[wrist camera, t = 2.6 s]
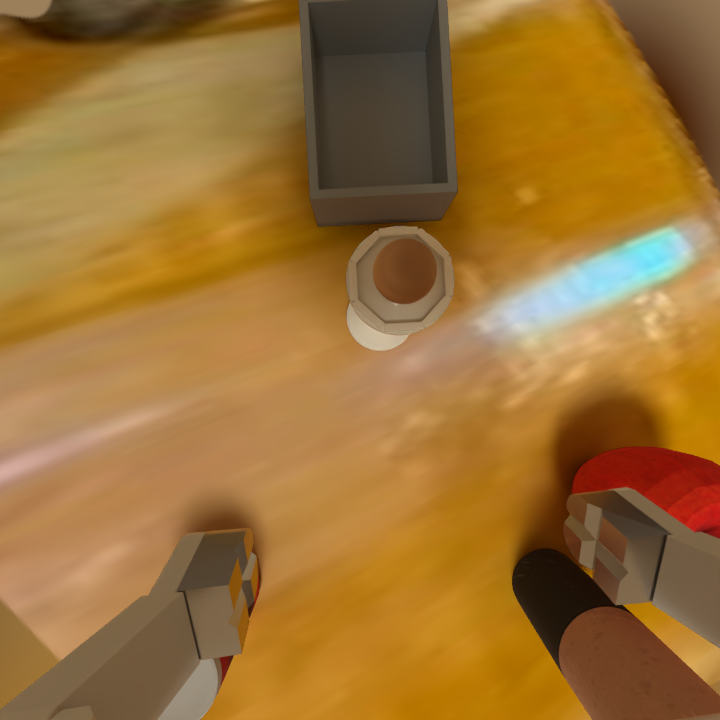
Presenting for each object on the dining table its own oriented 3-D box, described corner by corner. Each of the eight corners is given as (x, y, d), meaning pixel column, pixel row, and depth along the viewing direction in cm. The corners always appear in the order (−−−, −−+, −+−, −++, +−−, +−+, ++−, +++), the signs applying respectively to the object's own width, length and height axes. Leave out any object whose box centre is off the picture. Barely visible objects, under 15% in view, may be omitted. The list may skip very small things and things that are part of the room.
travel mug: (594, 569, 35) (902, 844, 15) (556, 630, 35) (817, 986, 15) (533, 532, 35) (762, 759, 15) (495, 593, 35) (676, 901, 15)
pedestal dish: (348, 352, 35) (340, 346, 18) (345, 286, 35) (333, 218, 18) (414, 349, 35) (468, 339, 18) (411, 283, 35) (461, 211, 18)
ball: (372, 310, 18) (376, 299, 15) (369, 252, 18) (372, 229, 15) (430, 307, 18) (446, 295, 15) (427, 250, 18) (442, 226, 15)
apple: (620, 558, 35) (781, 680, 22) (522, 510, 35) (622, 602, 22) (669, 459, 35) (859, 519, 22) (571, 410, 35) (701, 441, 22)
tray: (318, 226, 35) (309, 199, 29) (308, 56, 35) (298, -7, 29) (440, 220, 35) (457, 191, 29) (431, 50, 35) (446, -14, 29)
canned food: (172, 576, 35) (87, 675, 24) (232, 530, 35) (175, 608, 24) (216, 633, 35) (152, 758, 24) (276, 587, 35) (239, 691, 24)
